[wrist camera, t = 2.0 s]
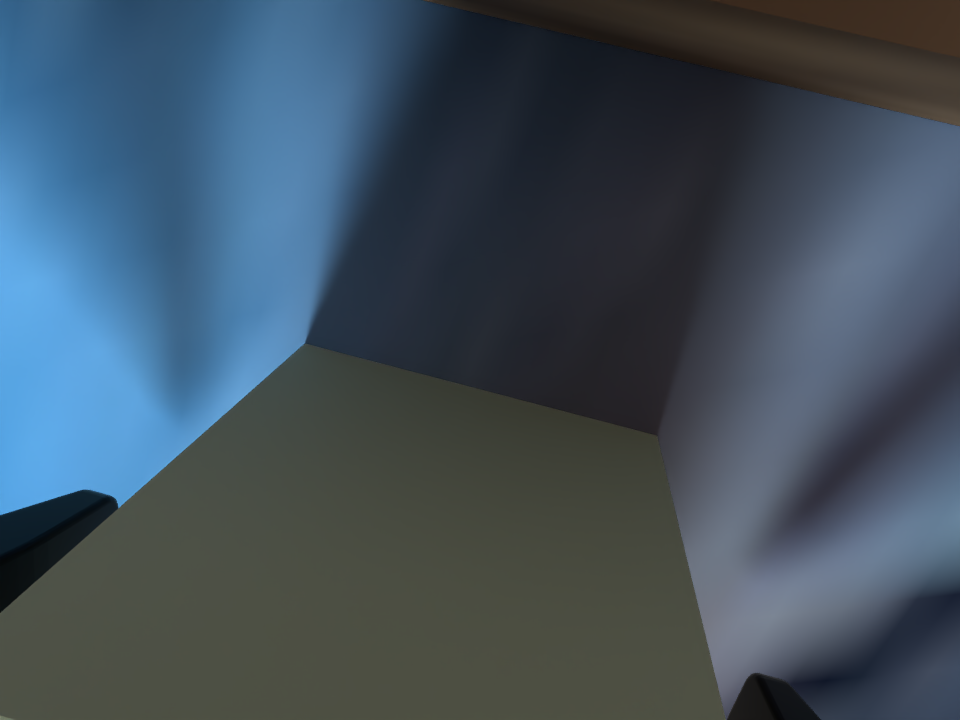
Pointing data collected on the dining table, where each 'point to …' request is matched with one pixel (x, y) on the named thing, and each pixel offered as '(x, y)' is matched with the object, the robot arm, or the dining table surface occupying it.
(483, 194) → the dining table surface
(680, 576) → the sage block
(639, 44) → the walnut riser block
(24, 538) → the robot arm
